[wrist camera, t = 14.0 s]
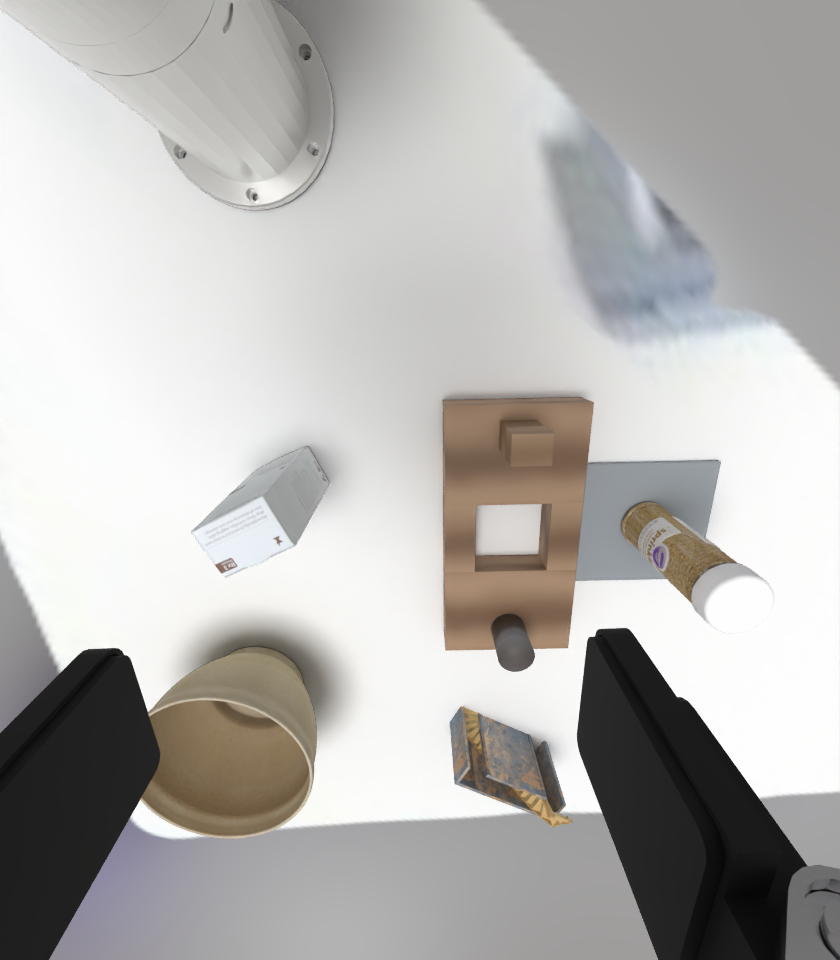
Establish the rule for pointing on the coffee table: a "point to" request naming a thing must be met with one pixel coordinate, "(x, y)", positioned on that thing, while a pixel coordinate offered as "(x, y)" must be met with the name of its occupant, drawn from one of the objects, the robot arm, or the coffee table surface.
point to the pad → (626, 486)
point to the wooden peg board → (501, 481)
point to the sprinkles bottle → (699, 569)
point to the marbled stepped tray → (505, 766)
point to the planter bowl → (234, 746)
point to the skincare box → (263, 513)
